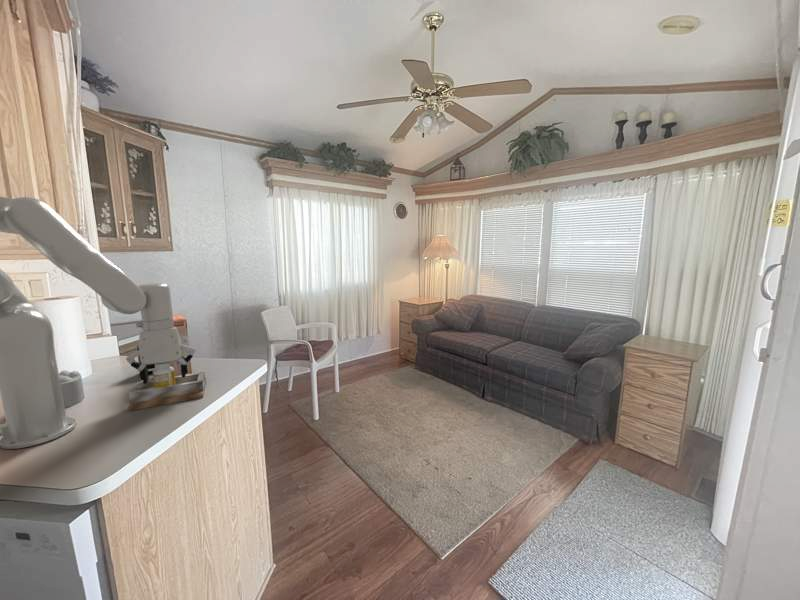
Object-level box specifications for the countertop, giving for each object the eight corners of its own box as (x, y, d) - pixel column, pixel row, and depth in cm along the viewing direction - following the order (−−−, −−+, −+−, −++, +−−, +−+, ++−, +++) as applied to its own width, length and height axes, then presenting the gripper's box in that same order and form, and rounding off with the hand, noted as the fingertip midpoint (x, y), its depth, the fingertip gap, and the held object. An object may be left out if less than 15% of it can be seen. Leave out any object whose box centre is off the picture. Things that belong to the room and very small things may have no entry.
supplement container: (159, 367, 127) (155, 341, 125) (165, 371, 122) (161, 344, 121) (137, 372, 121) (133, 345, 120) (142, 376, 117) (139, 348, 116)
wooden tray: (128, 410, 92) (126, 396, 91) (141, 392, 104) (139, 379, 103) (203, 397, 100) (201, 384, 99) (206, 381, 112) (205, 369, 111)
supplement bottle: (162, 396, 97) (158, 366, 96) (151, 394, 99) (147, 363, 98) (180, 389, 102) (177, 360, 101) (169, 387, 104) (165, 358, 103)
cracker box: (193, 375, 118) (187, 318, 115) (173, 379, 114) (166, 321, 111) (188, 365, 128) (181, 313, 125) (169, 369, 125) (162, 315, 122)
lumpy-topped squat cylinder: (31, 415, 90) (25, 385, 89) (38, 400, 100) (33, 372, 98) (83, 403, 97) (78, 375, 96) (85, 390, 106) (81, 364, 105)
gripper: (118, 330, 91) (126, 389, 93) (191, 323, 99) (197, 377, 101) (125, 325, 97) (133, 380, 100) (193, 319, 105) (199, 370, 108)
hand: (165, 379), depth 100 cm, fingers open, 9 cm apart
